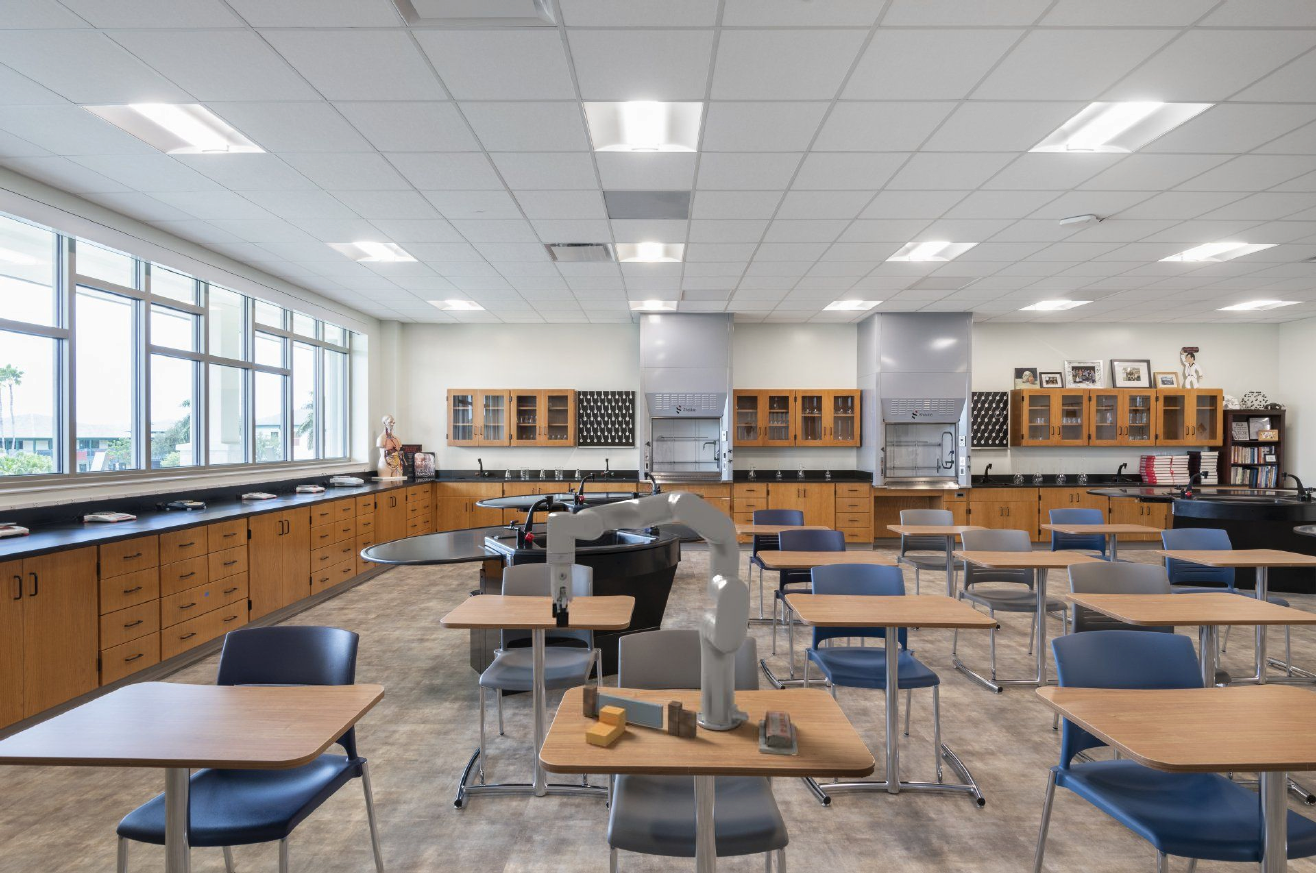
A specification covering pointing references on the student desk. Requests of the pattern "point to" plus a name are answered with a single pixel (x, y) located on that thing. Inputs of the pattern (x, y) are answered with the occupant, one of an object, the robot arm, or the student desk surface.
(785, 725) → the packaged product
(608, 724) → the orange stepped block
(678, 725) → the wooden posts
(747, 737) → the student desk surface
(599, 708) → the gate door
